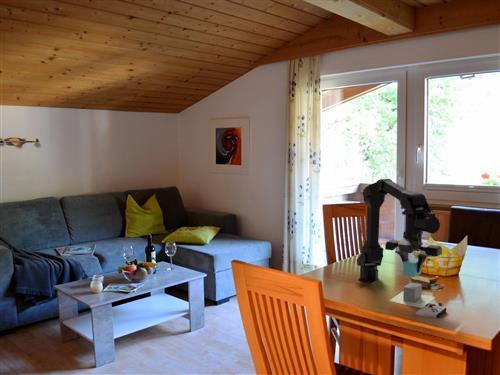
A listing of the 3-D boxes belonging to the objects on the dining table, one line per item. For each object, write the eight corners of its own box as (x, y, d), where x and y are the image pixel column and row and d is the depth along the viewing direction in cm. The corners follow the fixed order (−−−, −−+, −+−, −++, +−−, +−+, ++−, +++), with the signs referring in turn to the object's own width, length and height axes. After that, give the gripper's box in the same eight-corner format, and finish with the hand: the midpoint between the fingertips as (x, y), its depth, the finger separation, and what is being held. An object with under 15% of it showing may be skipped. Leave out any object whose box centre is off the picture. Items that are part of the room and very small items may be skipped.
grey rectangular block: (403, 300, 170) (403, 286, 169) (410, 295, 175) (410, 282, 174) (414, 302, 167) (414, 289, 167) (421, 297, 172) (421, 284, 172)
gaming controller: (424, 305, 165) (439, 294, 161) (437, 320, 163) (452, 310, 159) (412, 314, 157) (428, 303, 153) (425, 330, 154) (441, 319, 150)
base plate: (388, 303, 170) (388, 300, 169) (403, 293, 180) (403, 290, 180) (422, 310, 162) (422, 308, 162) (435, 300, 173) (435, 297, 173)
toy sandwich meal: (443, 295, 178) (444, 283, 178) (406, 291, 184) (406, 279, 183) (445, 286, 190) (445, 274, 189) (410, 282, 195) (410, 271, 195)
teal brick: (403, 275, 169) (403, 261, 168) (410, 271, 174) (410, 257, 174) (414, 277, 166) (414, 263, 166) (421, 273, 172) (421, 259, 171)
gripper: (379, 229, 168) (378, 271, 170) (432, 235, 156) (431, 281, 158) (391, 224, 177) (390, 265, 178) (443, 230, 165) (441, 274, 167)
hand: (412, 271), depth 170 cm, fingers closed on teal brick, 4 cm apart
